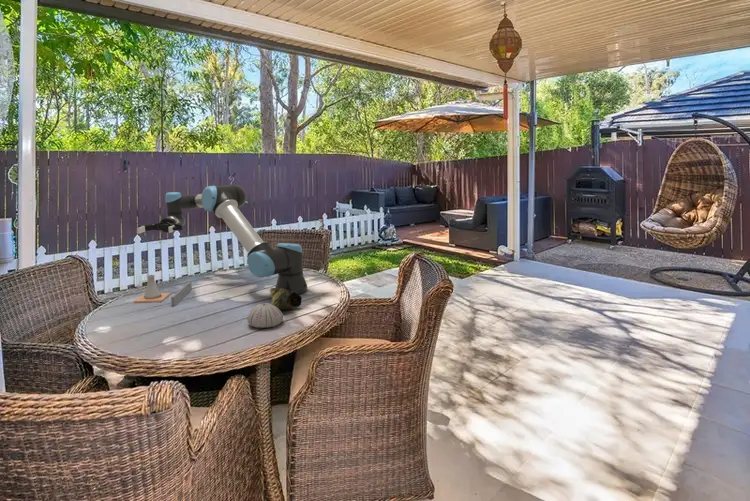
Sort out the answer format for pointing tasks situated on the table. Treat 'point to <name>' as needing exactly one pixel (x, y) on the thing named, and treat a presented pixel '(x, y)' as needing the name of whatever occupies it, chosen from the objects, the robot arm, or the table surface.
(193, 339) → the table surface
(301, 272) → the robot arm
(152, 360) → the table surface
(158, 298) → the terracotta tile
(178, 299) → the low wall
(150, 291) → the flask
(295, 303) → the seashell
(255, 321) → the sea urchin shell
